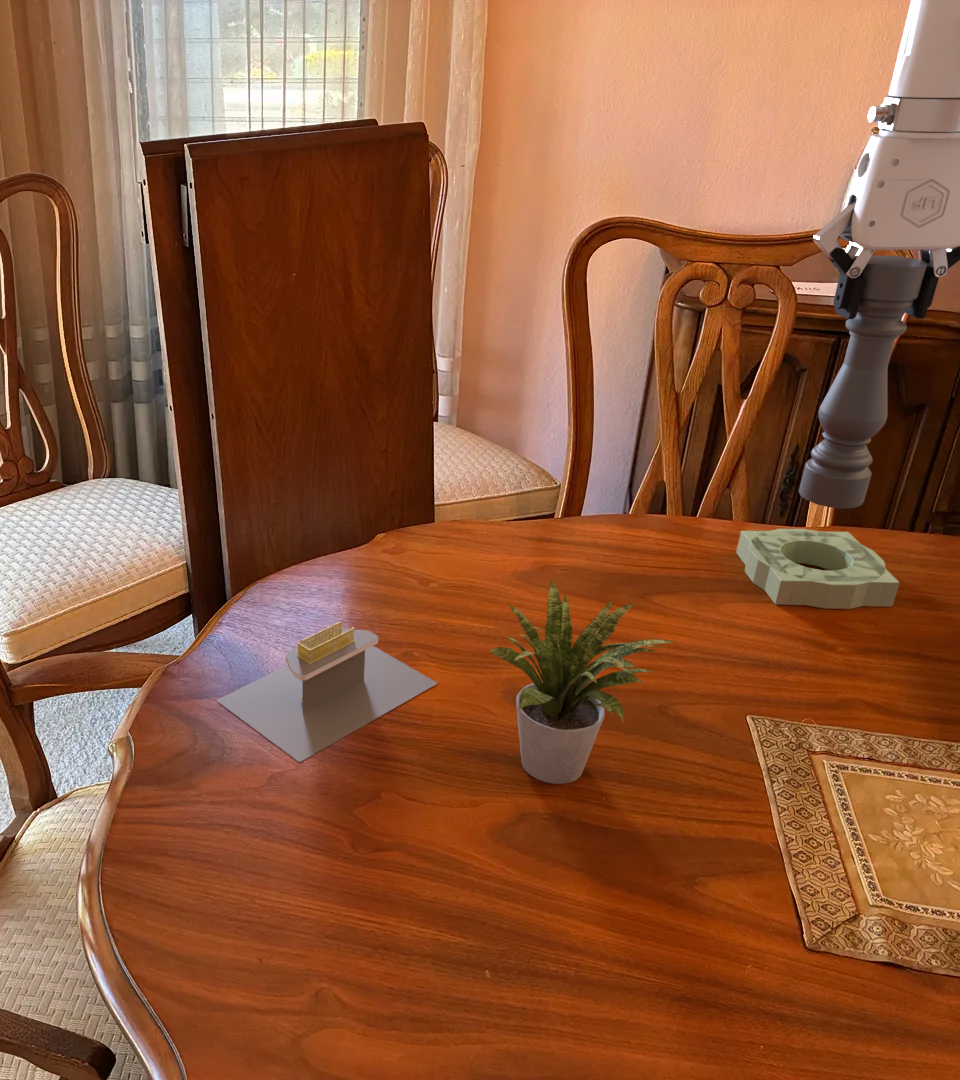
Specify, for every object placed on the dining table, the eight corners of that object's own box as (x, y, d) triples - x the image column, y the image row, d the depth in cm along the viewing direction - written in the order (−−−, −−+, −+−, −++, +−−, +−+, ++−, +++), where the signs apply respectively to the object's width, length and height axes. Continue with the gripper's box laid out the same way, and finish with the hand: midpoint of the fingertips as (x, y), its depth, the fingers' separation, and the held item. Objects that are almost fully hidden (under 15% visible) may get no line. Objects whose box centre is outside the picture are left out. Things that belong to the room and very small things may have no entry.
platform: (216, 700, 95) (213, 642, 92) (351, 633, 105) (352, 579, 102) (299, 762, 87) (299, 701, 84) (438, 683, 97) (442, 625, 94)
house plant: (595, 860, 76) (627, 683, 68) (436, 783, 84) (449, 618, 76) (664, 764, 85) (699, 599, 78) (515, 703, 93) (534, 549, 86)
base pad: (845, 551, 118) (851, 529, 116) (901, 610, 106) (909, 585, 105) (728, 550, 119) (733, 527, 118) (771, 607, 107) (777, 583, 106)
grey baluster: (864, 491, 109) (929, 257, 97) (862, 512, 104) (931, 270, 93) (801, 480, 112) (857, 253, 100) (796, 501, 107) (854, 265, 96)
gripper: (849, 124, 88) (803, 326, 96) (1057, 119, 86) (992, 324, 95) (813, 117, 95) (773, 307, 103) (1006, 112, 93) (949, 305, 101)
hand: (879, 313), depth 99 cm, fingers closed on grey baluster, 5 cm apart
